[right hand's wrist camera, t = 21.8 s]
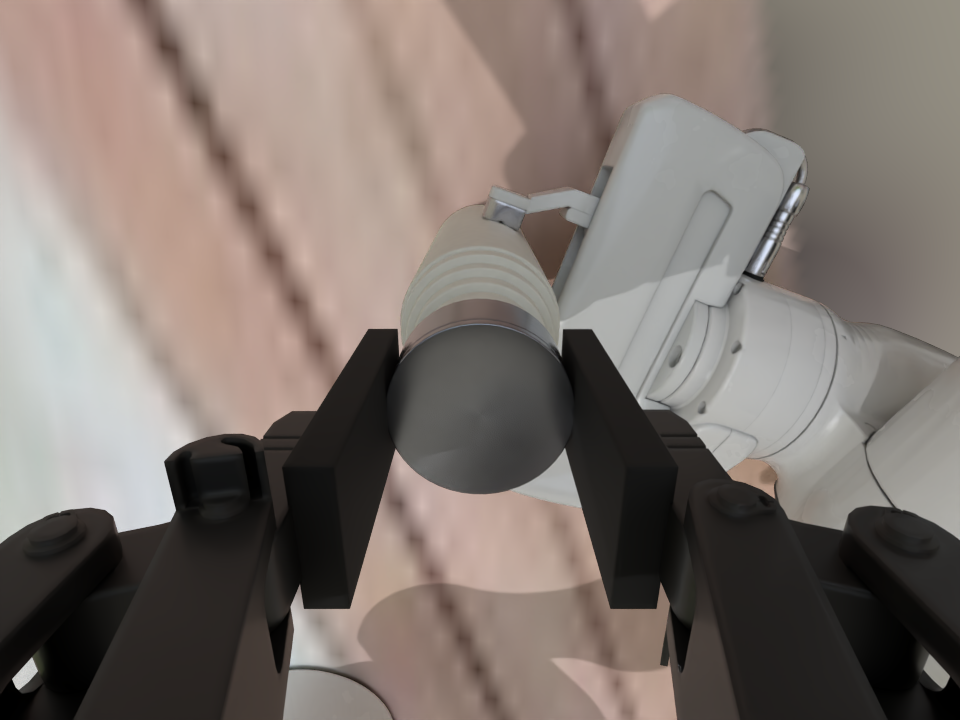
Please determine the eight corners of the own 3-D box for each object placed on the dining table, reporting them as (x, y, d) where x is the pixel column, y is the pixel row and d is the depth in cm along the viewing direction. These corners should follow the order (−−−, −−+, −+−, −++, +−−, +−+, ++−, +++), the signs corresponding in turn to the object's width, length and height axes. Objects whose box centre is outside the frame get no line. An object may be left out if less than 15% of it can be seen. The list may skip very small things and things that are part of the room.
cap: (587, 412, 15) (603, 453, 13) (444, 471, 15) (438, 519, 13) (522, 268, 13) (529, 289, 11) (367, 341, 14) (348, 373, 12)
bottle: (538, 219, 31) (629, 325, 12) (510, 307, 33) (551, 516, 14) (447, 192, 31) (393, 259, 12) (424, 283, 33) (346, 467, 14)
